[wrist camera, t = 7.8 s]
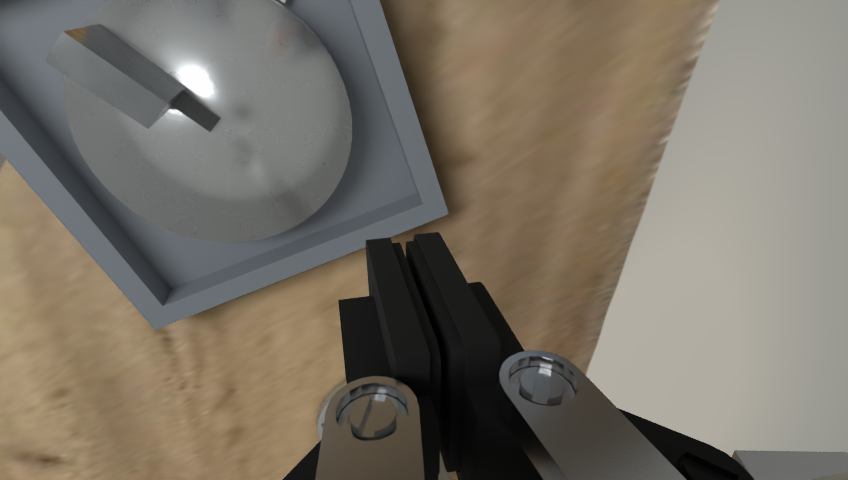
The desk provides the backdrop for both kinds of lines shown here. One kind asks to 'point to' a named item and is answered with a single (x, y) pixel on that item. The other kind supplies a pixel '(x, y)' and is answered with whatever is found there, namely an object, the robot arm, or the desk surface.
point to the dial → (207, 113)
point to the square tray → (199, 259)
